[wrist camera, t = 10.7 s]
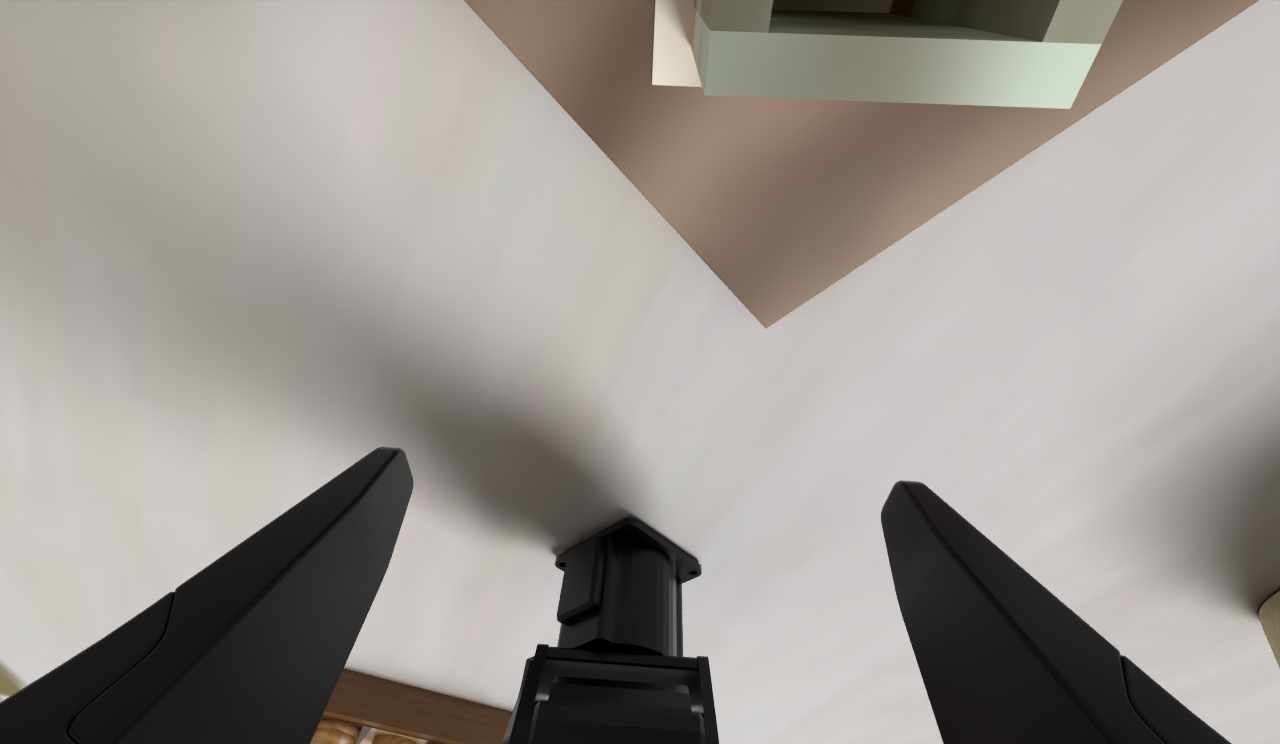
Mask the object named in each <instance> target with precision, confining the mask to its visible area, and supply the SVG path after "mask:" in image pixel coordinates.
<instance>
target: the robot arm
mask: <svg viewBox="0 0 1280 744" xmlns="http://www.w3.org/2000/svg"><path fill="white" fill-rule="evenodd" d="M412 490H413V477H412V474H411V470H410V467H409V464H408V461H407V458H406V454H405V452H404V451H403V450H402V449H400V448H390V447H380V448H377V449H375V450H374V451H372V452H371V453H369V454H368V455H366V456H365V457H364V458H362V459H361V460H359V461H358V462H356V463H355V464H354V465H352V466H351V467H349V468H348V469H346V470H345V471H344V472H342V473H341V474H339V475H338V476H336V477H335V478H334V479H332V480H331V481H329V482H328V483H326V484H325V485H323V486H322V487H321V488H319V489H318V490H316V491H315V492H313V493H312V494H311V495H309V496H308V497H306V498H305V499H303V500H302V501H301V502H299V503H298V504H296V505H295V506H293V507H292V508H290V509H289V510H288V511H286V512H285V513H283V514H282V515H280V516H279V517H278V518H276V519H275V520H273V521H272V522H270V523H269V524H268V525H266V526H265V527H263V528H262V529H260V530H259V531H258V532H256V533H255V534H253V535H252V536H250V537H249V538H247V539H246V540H245V541H243V542H242V543H240V544H239V545H237V546H236V547H235V548H233V549H232V550H230V551H229V552H227V553H226V554H225V555H223V556H222V557H220V558H219V559H217V560H216V561H214V562H213V563H212V564H210V565H209V566H207V567H206V568H204V569H203V570H202V571H200V572H199V573H197V574H196V575H194V576H193V577H192V578H190V579H189V580H187V581H186V582H184V583H183V584H182V585H180V586H179V587H177V588H176V590H175V592H170V593H168V594H167V595H165V596H164V597H163V598H161V599H160V600H158V601H157V602H155V603H154V604H153V605H151V606H150V607H148V608H147V609H145V610H144V611H142V612H141V613H139V614H138V615H137V616H135V617H134V618H132V619H131V620H129V621H128V622H126V623H125V624H123V625H122V626H120V627H119V628H117V629H116V630H114V631H113V632H111V633H110V634H108V635H107V636H105V637H104V638H102V639H101V640H99V641H98V642H96V643H95V644H93V645H92V646H90V647H88V648H87V649H85V650H84V651H82V652H81V653H79V654H77V655H76V656H74V657H73V658H71V659H70V660H68V661H66V662H65V663H63V664H62V665H60V666H59V667H57V668H55V669H54V670H52V671H51V672H49V673H47V674H46V675H44V676H43V677H41V678H39V679H38V680H36V681H34V682H33V683H31V684H30V685H28V686H26V687H25V688H23V689H22V690H20V691H18V692H17V693H15V694H13V695H12V696H10V697H9V698H7V699H5V700H4V701H2V702H0V744H310V743H311V740H312V738H313V736H314V734H315V731H316V729H317V727H318V725H319V722H320V720H321V718H322V716H323V713H324V711H325V709H326V707H327V704H328V702H329V700H330V698H331V695H332V693H333V691H334V688H335V686H336V684H337V682H338V679H339V677H340V675H341V673H342V670H343V668H344V666H345V664H346V661H347V659H348V657H349V655H350V652H351V650H352V648H353V646H354V643H355V641H356V639H357V637H358V634H359V632H360V630H361V628H362V625H363V623H364V621H365V619H366V616H367V614H368V612H369V610H370V607H371V605H372V603H373V600H374V598H375V596H376V594H377V591H378V589H379V587H380V585H381V582H382V580H383V578H384V575H385V573H386V570H387V568H388V565H389V562H390V559H391V557H392V554H393V550H394V547H395V544H396V541H397V538H398V535H399V531H400V528H401V525H402V522H403V519H404V516H405V513H406V509H407V506H408V503H409V500H410V497H411V494H412ZM881 523H882V528H883V533H884V538H885V543H886V547H887V552H888V557H889V562H890V567H891V572H892V576H893V581H894V586H895V591H896V595H897V599H898V603H899V606H900V610H901V613H902V616H903V620H904V623H905V626H906V629H907V632H908V635H909V638H910V641H911V644H912V647H913V650H914V654H915V657H916V660H917V663H918V666H919V669H920V672H921V675H922V678H923V681H924V684H925V688H926V691H927V694H928V697H929V700H930V703H931V706H932V709H933V712H934V715H935V718H936V722H937V725H938V728H939V731H940V734H941V737H942V740H943V743H944V744H1231V743H1230V742H1229V741H1228V740H1226V739H1225V738H1224V737H1223V736H1221V735H1220V734H1219V733H1217V732H1216V731H1215V730H1214V729H1212V728H1211V727H1210V726H1209V725H1207V724H1206V723H1205V722H1204V721H1202V720H1201V719H1200V718H1199V717H1197V716H1196V715H1195V714H1193V713H1192V712H1191V711H1190V710H1189V709H1187V708H1186V707H1185V706H1184V705H1183V704H1181V703H1180V702H1179V701H1178V700H1177V699H1175V698H1174V697H1173V696H1172V695H1171V694H1169V693H1168V692H1167V691H1166V690H1165V689H1163V688H1162V687H1161V686H1160V685H1159V684H1157V683H1156V682H1155V681H1154V680H1153V679H1151V678H1150V677H1149V676H1148V675H1147V674H1146V673H1144V672H1143V671H1142V670H1141V669H1140V668H1139V667H1137V666H1136V665H1135V664H1134V663H1133V662H1132V661H1130V660H1129V659H1128V658H1127V657H1126V656H1123V655H1120V652H1119V651H1118V650H1117V649H1116V648H1115V647H1114V646H1113V645H1112V644H1110V643H1109V642H1108V641H1107V640H1106V639H1105V638H1103V637H1102V636H1101V635H1100V634H1099V633H1097V632H1096V631H1095V630H1094V629H1093V628H1092V627H1090V626H1089V625H1088V624H1087V623H1086V622H1085V621H1083V620H1082V619H1081V618H1080V617H1079V616H1078V615H1076V614H1075V613H1074V612H1073V611H1072V610H1071V609H1069V608H1068V607H1067V606H1066V605H1065V604H1064V603H1062V602H1061V601H1060V600H1059V599H1058V598H1057V597H1055V596H1054V595H1053V594H1052V593H1051V592H1050V591H1048V590H1047V589H1046V588H1045V587H1044V586H1043V585H1041V584H1040V583H1039V582H1038V581H1037V580H1036V579H1034V578H1033V577H1032V576H1031V575H1030V574H1029V573H1027V572H1026V571H1025V570H1024V569H1023V568H1022V567H1020V566H1019V565H1018V564H1017V563H1016V562H1015V561H1013V560H1012V559H1011V558H1010V557H1009V556H1008V555H1006V554H1005V553H1004V552H1003V551H1002V550H1001V549H999V548H998V547H997V546H996V545H995V544H994V543H992V542H991V541H990V540H989V539H988V538H987V537H985V536H984V535H983V534H982V533H981V532H980V531H978V530H977V529H976V528H975V527H974V526H973V525H971V524H970V523H969V522H968V521H967V520H966V519H964V518H963V517H962V516H961V515H960V514H959V513H957V512H956V511H955V510H954V509H953V508H952V507H950V506H949V505H948V504H947V503H946V502H945V501H943V500H942V499H941V498H940V497H939V496H938V495H936V494H935V493H934V492H933V491H932V490H931V489H929V488H928V487H927V486H926V485H924V484H923V483H921V482H915V481H898V482H897V483H895V485H894V486H893V488H892V490H891V492H890V494H889V496H888V498H887V500H886V502H885V504H884V506H883V508H882V512H881ZM555 566H556V567H557V568H559V569H561V570H562V571H564V577H563V583H562V589H561V594H560V600H559V606H558V611H557V620H558V622H560V623H561V629H560V635H559V641H558V647H549V645H547V644H538V645H537V649H536V653H535V656H534V657H531V658H529V659H527V660H526V665H525V670H524V674H523V679H522V684H521V688H520V692H519V696H518V699H517V702H516V705H515V707H514V710H513V713H512V716H511V718H510V721H509V724H508V727H507V730H506V732H505V735H504V738H503V741H502V744H719V739H718V730H717V723H716V715H715V707H714V699H713V691H712V683H711V676H710V668H709V660H708V657H704V656H697V658H691V657H683V629H682V583H684V582H687V581H689V580H691V579H693V578H696V577H698V576H700V575H701V565H700V564H699V563H698V562H696V561H695V560H693V559H692V558H690V557H689V556H687V555H686V554H685V553H683V552H682V551H680V550H679V549H677V548H676V547H674V546H673V545H671V544H670V543H669V542H667V541H666V540H664V539H663V538H661V537H660V536H658V535H657V534H656V533H654V532H653V531H651V530H650V529H648V528H647V527H645V526H644V525H643V524H641V523H640V522H638V521H637V520H635V519H632V518H626V519H624V520H622V521H620V522H618V523H616V524H614V525H613V526H611V527H609V528H607V529H605V530H604V531H602V532H600V533H598V534H596V535H594V536H593V537H591V538H589V539H587V540H585V541H583V542H582V543H580V544H578V545H576V546H574V547H573V548H571V549H569V550H567V551H565V552H563V553H562V554H560V555H558V556H557V557H556V562H555Z"/></svg>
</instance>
